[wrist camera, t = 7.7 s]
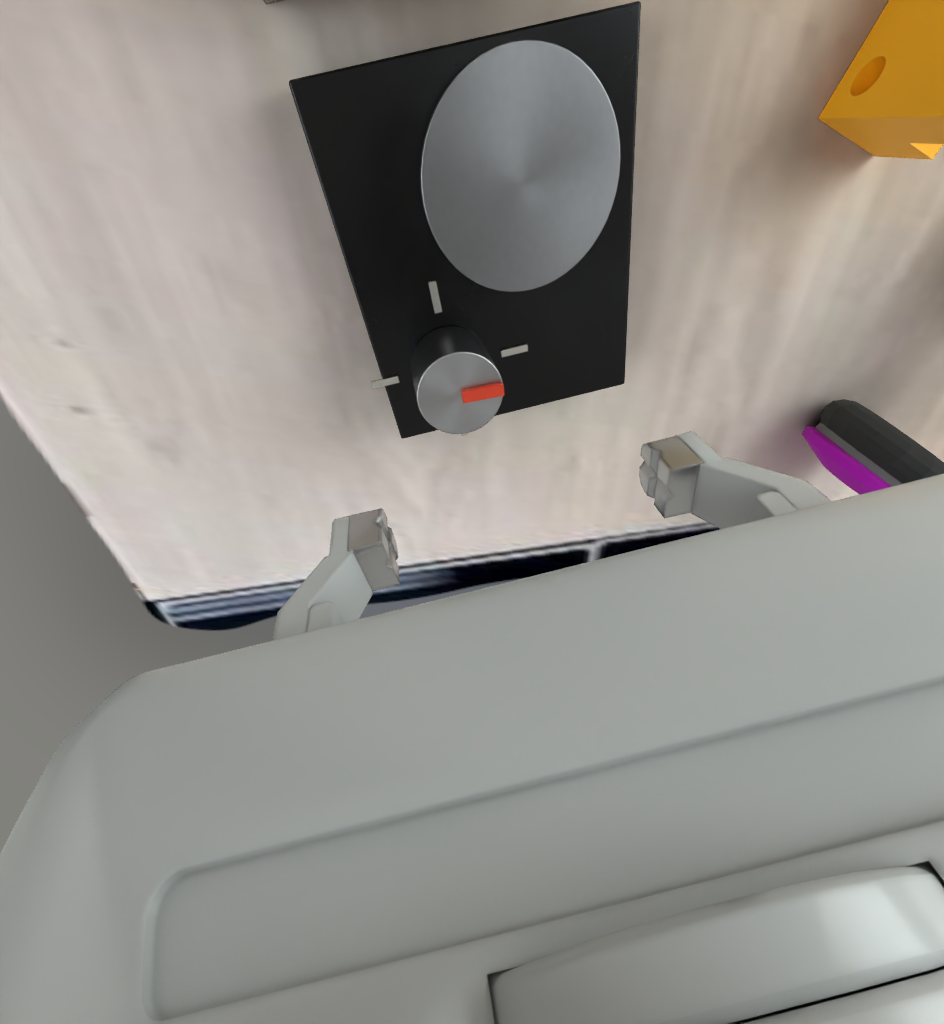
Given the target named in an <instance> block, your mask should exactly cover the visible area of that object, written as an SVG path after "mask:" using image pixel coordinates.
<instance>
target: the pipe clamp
mask: <svg viewBox="0 0 944 1024" xmlns="http://www.w3.org/2000/svg"><path fill="white" fill-rule="evenodd" d="M818 119H819V120H821V121H822V122H824V123H825V124H827V125H828V126H830V127H831V128H833V129H834V130H836V131H837V132H839V133H840V134H842V135H843V136H845V137H846V138H848V139H849V140H851V141H852V142H854V143H855V144H857V145H858V146H860V147H861V148H863V149H864V150H866V151H867V152H869V153H870V154H872V155H873V156H880V157H898V158H917V159H933V158H934V156H935V155H936V154H937V152H938V151H939V150H940V148H941V147H942V146H943V144H944V0H889V2H888V3H887V5H886V7H885V8H884V10H883V12H882V13H881V15H880V17H879V18H878V20H877V22H876V23H875V25H874V27H873V28H872V30H871V31H870V33H869V35H868V36H867V38H866V40H865V41H864V43H863V45H862V46H861V48H860V50H859V51H858V53H857V55H856V56H855V58H854V60H853V61H852V63H851V65H850V66H849V68H848V70H847V71H846V73H845V75H844V76H843V78H842V80H841V81H840V83H839V85H838V86H837V88H836V90H835V91H834V93H833V95H832V96H831V98H830V100H829V101H828V103H827V105H826V106H825V108H824V110H823V111H822V113H821V114H820V116H819V118H818Z"/></svg>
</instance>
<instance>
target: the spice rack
mask: <svg viewBox="0 0 944 1024" xmlns="http://www.w3.org/2000/svg"><path fill="white" fill-rule="evenodd" d="M263 1H264V2H265V3H266V4H269V3H273V2H278V1H282V0H263Z"/></svg>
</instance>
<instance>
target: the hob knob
mask: <svg viewBox="0 0 944 1024" xmlns="http://www.w3.org/2000/svg"><path fill="white" fill-rule="evenodd" d="M411 373H412V378H413V383H414V388H415V393H416V398H417V403H418V407H419V410H420V412H421V414H422V415H423V417H424V418H425V420H426V421H427V422H428V423H429V424H430V425H432V426H433V427H435V428H436V429H438V430H440V431H443V432H447V433H452V434H463V433H468V432H472V431H474V430H477V429H479V428H481V427H482V426H484V425H485V424H487V423H488V422H489V421H490V420H491V419H492V418H493V417H494V415H495V414H496V413H497V411H498V409H499V407H500V405H501V402H502V398H503V396H504V385H503V382H502V378H501V375H500V373H499V371H498V369H497V368H496V366H495V364H494V362H493V361H492V359H491V357H490V355H489V353H488V352H487V350H486V348H485V346H484V344H483V343H482V341H481V340H480V339H479V338H478V337H477V336H476V335H475V334H474V333H472V332H471V331H469V330H467V329H464V328H461V327H455V326H447V327H442V328H438V329H436V330H433V331H431V332H430V333H428V334H427V335H426V336H424V337H423V338H422V339H421V340H420V342H419V343H418V344H417V346H416V348H415V350H414V352H413V355H412V359H411Z"/></svg>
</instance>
